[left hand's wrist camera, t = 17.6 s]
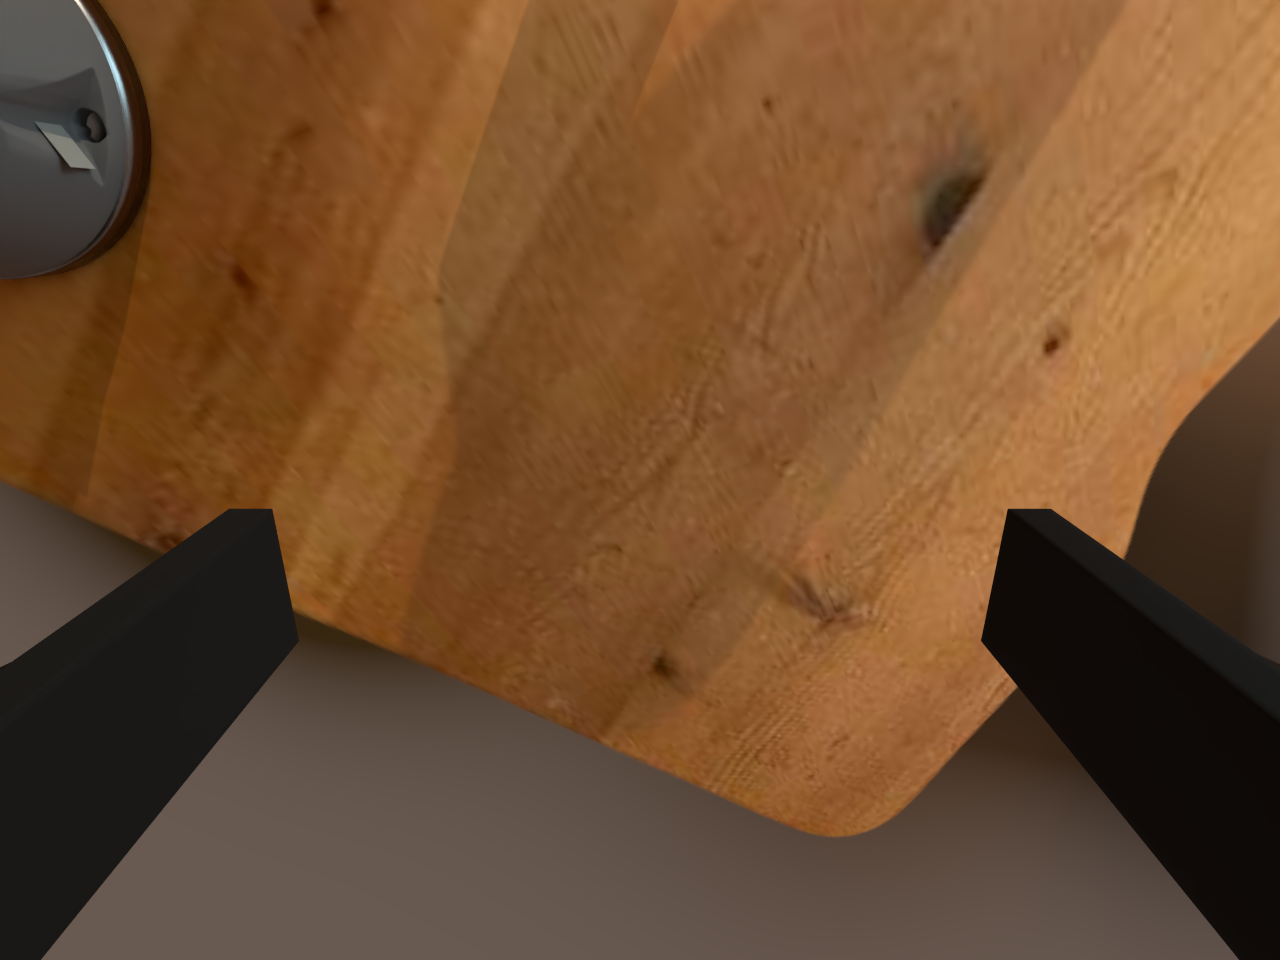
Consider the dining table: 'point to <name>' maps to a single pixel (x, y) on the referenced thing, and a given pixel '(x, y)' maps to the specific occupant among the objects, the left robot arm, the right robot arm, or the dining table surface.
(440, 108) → the dining table surface
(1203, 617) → the left robot arm
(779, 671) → the dining table surface
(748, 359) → the dining table surface
